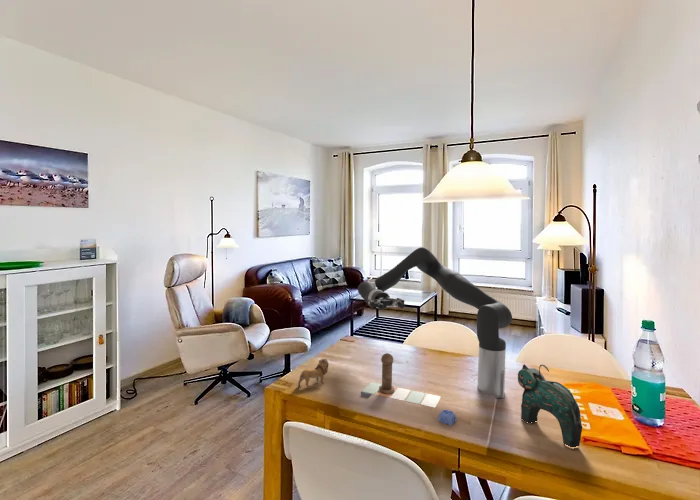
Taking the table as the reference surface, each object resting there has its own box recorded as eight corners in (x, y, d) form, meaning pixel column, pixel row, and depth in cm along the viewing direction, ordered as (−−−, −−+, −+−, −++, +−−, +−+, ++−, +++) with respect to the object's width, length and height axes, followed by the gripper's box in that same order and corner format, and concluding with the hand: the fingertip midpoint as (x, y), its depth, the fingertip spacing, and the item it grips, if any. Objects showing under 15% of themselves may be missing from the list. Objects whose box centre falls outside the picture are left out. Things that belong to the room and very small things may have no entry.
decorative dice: (444, 420, 117) (444, 408, 117) (456, 424, 115) (456, 412, 114) (438, 425, 114) (438, 413, 114) (450, 430, 112) (450, 417, 111)
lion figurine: (322, 377, 149) (323, 355, 149) (331, 381, 146) (331, 359, 145) (293, 388, 139) (293, 365, 139) (302, 393, 135) (302, 369, 135)
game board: (441, 399, 131) (441, 396, 131) (435, 412, 122) (435, 408, 122) (371, 384, 143) (371, 381, 143) (360, 395, 134) (360, 391, 134)
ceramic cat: (514, 417, 119) (516, 357, 118) (529, 414, 122) (532, 354, 120) (569, 453, 101) (573, 381, 100) (586, 448, 103) (590, 378, 102)
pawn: (396, 389, 136) (397, 352, 135) (391, 395, 131) (392, 357, 130) (382, 386, 139) (382, 350, 138) (376, 392, 133) (377, 354, 133)
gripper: (363, 291, 159) (375, 297, 144) (394, 289, 163) (409, 296, 147) (363, 308, 160) (375, 317, 144) (394, 306, 163) (409, 315, 148)
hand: (392, 306), depth 146 cm, fingers open, 8 cm apart
